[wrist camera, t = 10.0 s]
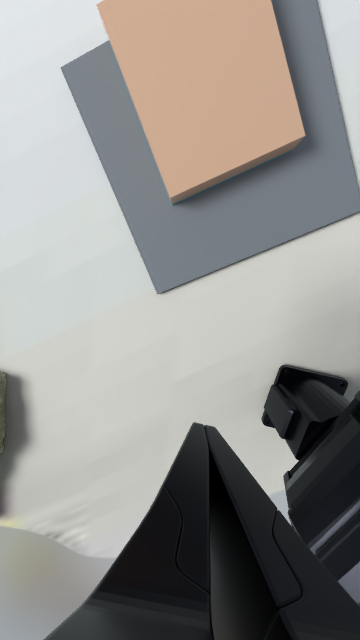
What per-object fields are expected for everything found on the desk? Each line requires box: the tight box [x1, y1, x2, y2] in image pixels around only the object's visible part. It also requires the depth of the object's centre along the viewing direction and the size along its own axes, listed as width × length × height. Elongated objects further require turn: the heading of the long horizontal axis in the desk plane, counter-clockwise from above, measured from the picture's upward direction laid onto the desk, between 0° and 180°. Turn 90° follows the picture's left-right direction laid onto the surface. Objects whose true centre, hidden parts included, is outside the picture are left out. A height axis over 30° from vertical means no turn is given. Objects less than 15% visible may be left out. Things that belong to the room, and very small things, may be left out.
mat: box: [61, 0, 360, 294], centre depth 17 cm, size 18×18×1 cm
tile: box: [97, 0, 305, 205], centre depth 16 cm, size 2×10×12 cm
